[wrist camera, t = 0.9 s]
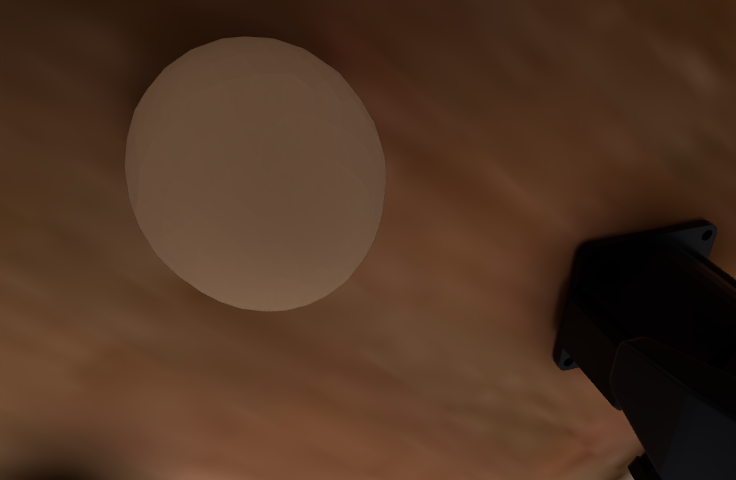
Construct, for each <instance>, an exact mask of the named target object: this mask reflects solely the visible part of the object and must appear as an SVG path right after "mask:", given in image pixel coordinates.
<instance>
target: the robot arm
mask: <svg viewBox="0 0 736 480" xmlns="http://www.w3.org/2000/svg"><path fill="white" fill-rule="evenodd" d="M716 234H717V227H716V226H715V225H713V224H712V223H710V222H709V221H707V220H702V221H697V222H691V223H686V224H681V225H675V226H670V227H665V228H660V229H654V230H649V231H644V232H638V233H633V234H628V235H622V236H617V237H612V238H606V239H601V240H596V241H591V242H588V243H585V244H584V245H583V246H581V248H580V249H579V250H578V252H577V255H576V260H575V264H574V269H573V274H572V278H571V283H570V287H569V292H568V296H567V301H566V306H565V310H564V315H563V319H562V324H561V329H560V333H559V338H558V342H557V347H556V351H555V356H554V362H555V363H556V365H557V366H558V367H559V368H560V370H563V371H565V370H570V369H574V368H578V367H579V368H580V369H581V370H582V371H583V372H584V373H585V375H586V376H587V377H588V378H589V379H590V380H591V382H592V383H593V384H594V385H595V386H596V387H597V389H598V390H599V391H600V392H601V393H602V394H603V396H604V397H605V398H606V399H607V400H608V401H609V403H610V404H611V405H612V406H613V407H614V408H616V409H617V410H623V412H624V414H625V416H626V418H627V419H628V421H629V423H630V425H631V426H632V428H633V430H634V432H635V434H636V435H637V437H638V439H639V441H640V442H641V444H642V446H643V448H644V450H645V451H644V452H643V453H642V455H641V456H636V457H635V458H634V459H633V461H632V462H631V463H630V464H629V465H628V469H629V471H630V473H631V475H632V477H633V478H634V480H736V280H735V279H734V278H733V277H731V276H730V275H729V274H727V273H726V272H724V271H723V270H722V269H720V268H719V267H718V266H716V265H715V264H714V263H712V262H711V261H710V260H708V257H709V254H710V251H711V248H712V245H713V242H714V240H715V237H716Z"/></svg>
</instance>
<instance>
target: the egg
mask: <svg viewBox="0 0 736 480" xmlns="http://www.w3.org/2000/svg"><path fill="white" fill-rule="evenodd" d="M125 175H126V181H127V187H128V194H129V200H130V203H131V206H132V208H133V211H134V214H135V217H136V219H137V222H138V225H139V228H140V229H141V231H142V232H143V234H144V236H145V237H146V239H147V240H148V242H149V244H150V245H151V247H152V249H153V250H154V252H155V253H156V255H157V256H158V257H159V258H160V259H161V260H162V261H163V262H164V263H165V264H166V265H167V266H168V267H169V268H170V269H171V270H172V271H174V272H175V273H176V274H177V275H178V276H179V277H180V278H182V279H183V280H185V281H186V282H188V283H189V284H190V285H192V286H193V287H195V288H196V289H198V290H199V291H200V292H202V293H204V294H206V295H208V296H210V297H212V298H214V299H216V300H218V301H220V302H223V303H226V304H229V305H232V306H234V307H237V308H240V309H249V310H258V311H286V310H290V309H294V308H298V307H302V306H306V305H309V304H311V303H313V302H315V301H317V300H319V299H321V298H323V297H326V296H328V295H329V294H330V293H332V292H333V291H334V290H336V289H337V288H338V287H340V286H341V285H342V284H344V283H345V282H346V281H347V279H348V278H349V277H350V276H351V274H352V273H353V272H354V271H355V270H356V268H357V267H358V266H359V265H360V263H361V262H362V261H363V260H364V258H365V257H366V255H367V253H368V251H369V249H370V247H371V245H372V243H373V241H374V239H375V237H376V234H377V230H378V227H379V224H380V220H381V217H382V213H383V205H384V196H385V188H386V180H387V178H386V167H385V157H384V154H383V150H382V147H381V143H380V140H379V137H378V133H377V130H376V127H375V124H374V122H373V120H372V118H371V116H370V115H369V113H368V111H367V110H366V108H365V106H364V104H363V103H362V101H361V99H360V98H359V96H358V95H357V94H356V93H355V91H354V90H353V89H352V88H351V86H350V85H349V84H348V83H347V82H346V80H345V79H344V78H343V77H342V76H341V74H340V73H339V72H337V71H336V70H335V69H333V68H332V67H331V66H329V65H328V64H326V63H325V62H323V61H322V60H320V59H319V58H317V57H316V56H314V55H313V54H311V53H310V52H309V51H307V50H306V49H304V48H301V47H298V46H295V45H292V44H289V43H286V42H283V41H280V40H277V39H273V38H261V37H233V38H222V39H219V40H216V41H213V42H211V43H208V44H205V45H202V46H199V47H197V48H194V49H191V50H190V51H188V52H187V53H185V54H184V55H183V56H181V57H180V58H178V59H177V60H175V61H174V62H173V63H171V64H170V65H168V66H167V67H165V68H164V70H163V71H162V72H161V73H160V75H159V76H158V77H157V78H156V79H155V81H154V82H153V83H152V84H151V85H150V87H149V88H148V89H147V90H146V92H145V93H144V95H143V97H142V98H141V100H140V102H139V104H138V105H137V107H136V109H135V111H134V114H133V118H132V122H131V125H130V129H129V132H128V136H127V144H126V156H125Z"/></svg>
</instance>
